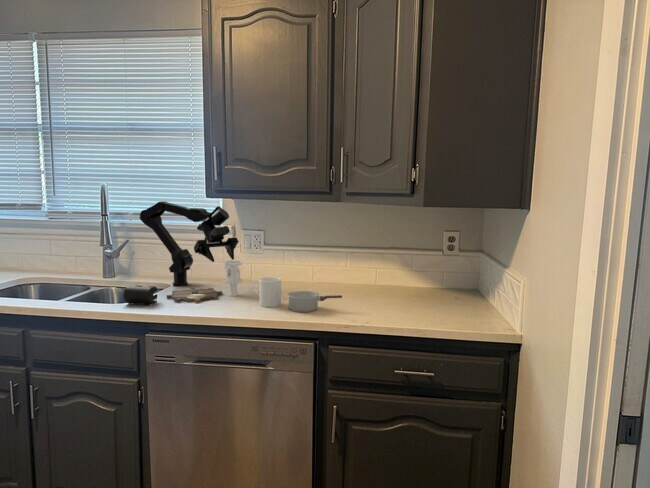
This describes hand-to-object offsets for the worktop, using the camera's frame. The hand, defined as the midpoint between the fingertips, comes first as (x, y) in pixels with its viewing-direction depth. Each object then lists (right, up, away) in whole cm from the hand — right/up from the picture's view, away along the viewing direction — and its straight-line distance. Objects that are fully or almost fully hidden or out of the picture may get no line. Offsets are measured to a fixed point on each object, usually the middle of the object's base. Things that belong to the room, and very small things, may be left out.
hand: (223, 260), depth 184 cm
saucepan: (+39, -17, -23) cm, 49 cm away
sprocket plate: (-10, -14, -7) cm, 19 cm away
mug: (+20, -16, -17) cm, 31 cm away
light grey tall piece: (+5, -14, -4) cm, 16 cm away
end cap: (-27, -16, -19) cm, 36 cm away
